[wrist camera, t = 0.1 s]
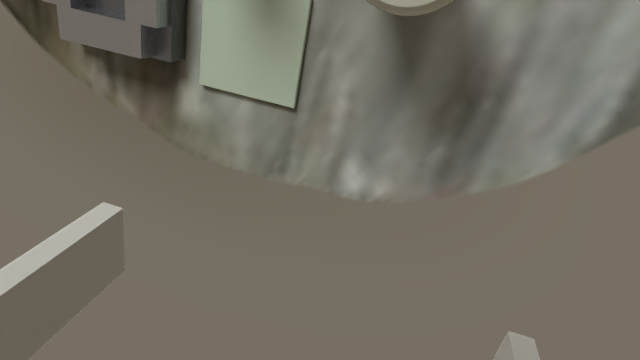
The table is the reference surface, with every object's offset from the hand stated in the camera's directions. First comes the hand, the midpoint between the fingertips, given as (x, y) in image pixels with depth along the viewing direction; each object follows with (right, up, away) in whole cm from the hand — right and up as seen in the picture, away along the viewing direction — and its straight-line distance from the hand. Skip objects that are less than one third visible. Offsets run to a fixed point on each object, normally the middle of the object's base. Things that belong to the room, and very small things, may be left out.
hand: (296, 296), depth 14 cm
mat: (-5, +17, +25) cm, 31 cm away
